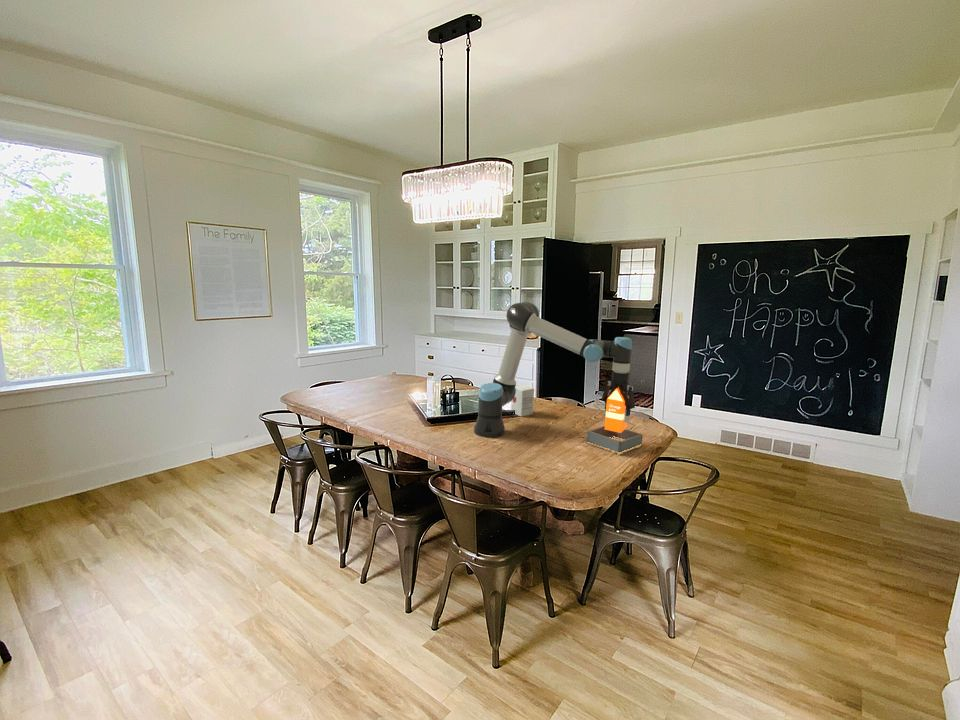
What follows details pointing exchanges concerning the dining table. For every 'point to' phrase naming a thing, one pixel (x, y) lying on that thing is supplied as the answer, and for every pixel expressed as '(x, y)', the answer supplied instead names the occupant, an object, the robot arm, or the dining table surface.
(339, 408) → the dining table surface
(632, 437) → the bin
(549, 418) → the dining table surface
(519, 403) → the supplement box
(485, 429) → the robot arm
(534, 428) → the dining table surface
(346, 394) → the dining table surface
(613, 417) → the orange juice
